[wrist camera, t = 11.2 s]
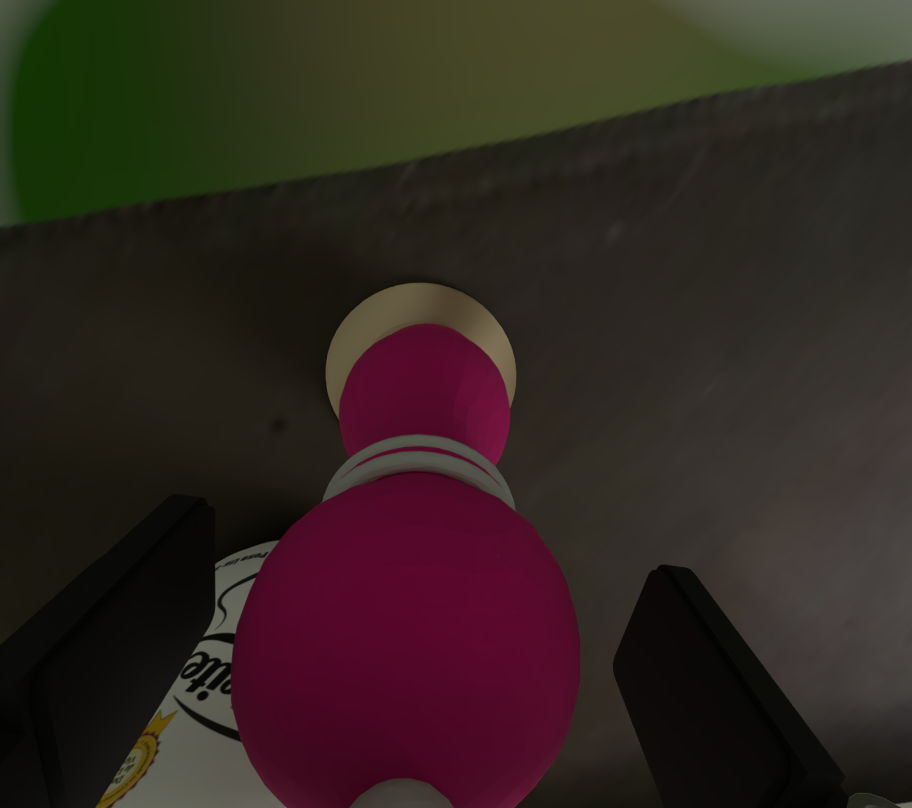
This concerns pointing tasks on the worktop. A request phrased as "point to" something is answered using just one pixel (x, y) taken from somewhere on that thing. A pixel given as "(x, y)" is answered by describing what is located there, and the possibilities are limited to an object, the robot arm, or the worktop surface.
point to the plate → (411, 308)
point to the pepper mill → (409, 605)
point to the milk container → (199, 719)
